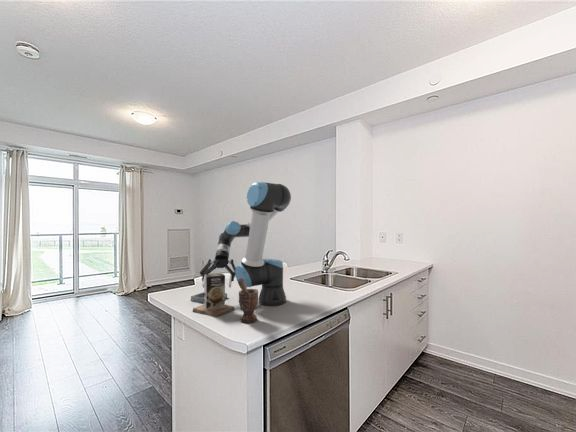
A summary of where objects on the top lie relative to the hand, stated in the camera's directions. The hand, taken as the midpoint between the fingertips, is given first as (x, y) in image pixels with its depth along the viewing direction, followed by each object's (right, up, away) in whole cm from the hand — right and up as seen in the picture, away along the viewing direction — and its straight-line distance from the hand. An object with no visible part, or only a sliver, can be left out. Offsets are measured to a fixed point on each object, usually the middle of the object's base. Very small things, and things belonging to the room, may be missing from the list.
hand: (216, 286), depth 141 cm
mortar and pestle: (+20, -10, -22) cm, 31 cm away
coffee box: (+1, -9, -7) cm, 11 cm away
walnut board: (+1, -10, -7) cm, 12 cm away
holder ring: (-7, -10, +12) cm, 17 cm away
